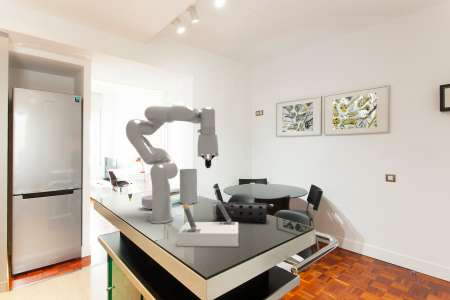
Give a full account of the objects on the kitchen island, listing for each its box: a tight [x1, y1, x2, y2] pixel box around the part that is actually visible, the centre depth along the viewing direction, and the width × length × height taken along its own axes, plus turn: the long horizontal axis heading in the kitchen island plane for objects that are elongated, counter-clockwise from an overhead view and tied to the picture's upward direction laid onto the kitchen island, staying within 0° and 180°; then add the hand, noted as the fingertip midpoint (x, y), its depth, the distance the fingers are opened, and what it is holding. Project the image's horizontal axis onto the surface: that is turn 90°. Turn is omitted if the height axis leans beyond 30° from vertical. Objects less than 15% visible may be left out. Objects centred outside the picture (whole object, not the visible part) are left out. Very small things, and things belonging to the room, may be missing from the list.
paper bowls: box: [141, 194, 152, 210], centre depth 164 cm, size 15×15×8 cm
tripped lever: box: [182, 203, 197, 231], centre depth 99 cm, size 2×4×11 cm, turn 177°
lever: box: [216, 199, 232, 224], centre depth 109 cm, size 2×4×11 cm
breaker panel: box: [176, 221, 239, 247], centre depth 104 cm, size 24×16×5 cm
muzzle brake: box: [212, 200, 268, 223], centre depth 131 cm, size 10×28×10 cm, turn 78°
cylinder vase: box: [179, 168, 198, 205], centre depth 181 cm, size 12×12×25 cm
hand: (208, 167), depth 124 cm, fingers closed
